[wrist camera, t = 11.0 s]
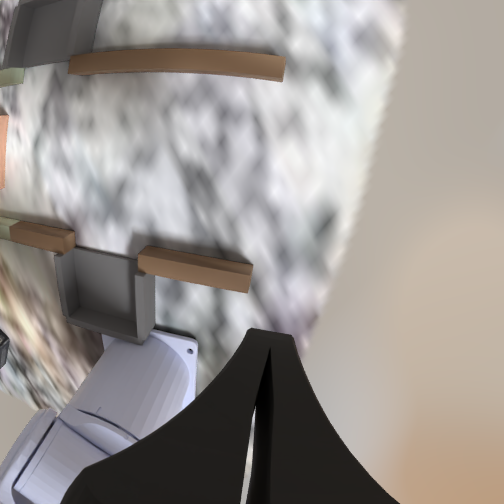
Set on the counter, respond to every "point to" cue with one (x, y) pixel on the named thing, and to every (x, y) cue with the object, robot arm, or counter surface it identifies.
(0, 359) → the small box
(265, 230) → the counter surface
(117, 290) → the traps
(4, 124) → the block
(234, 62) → the lane
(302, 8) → the counter surface
